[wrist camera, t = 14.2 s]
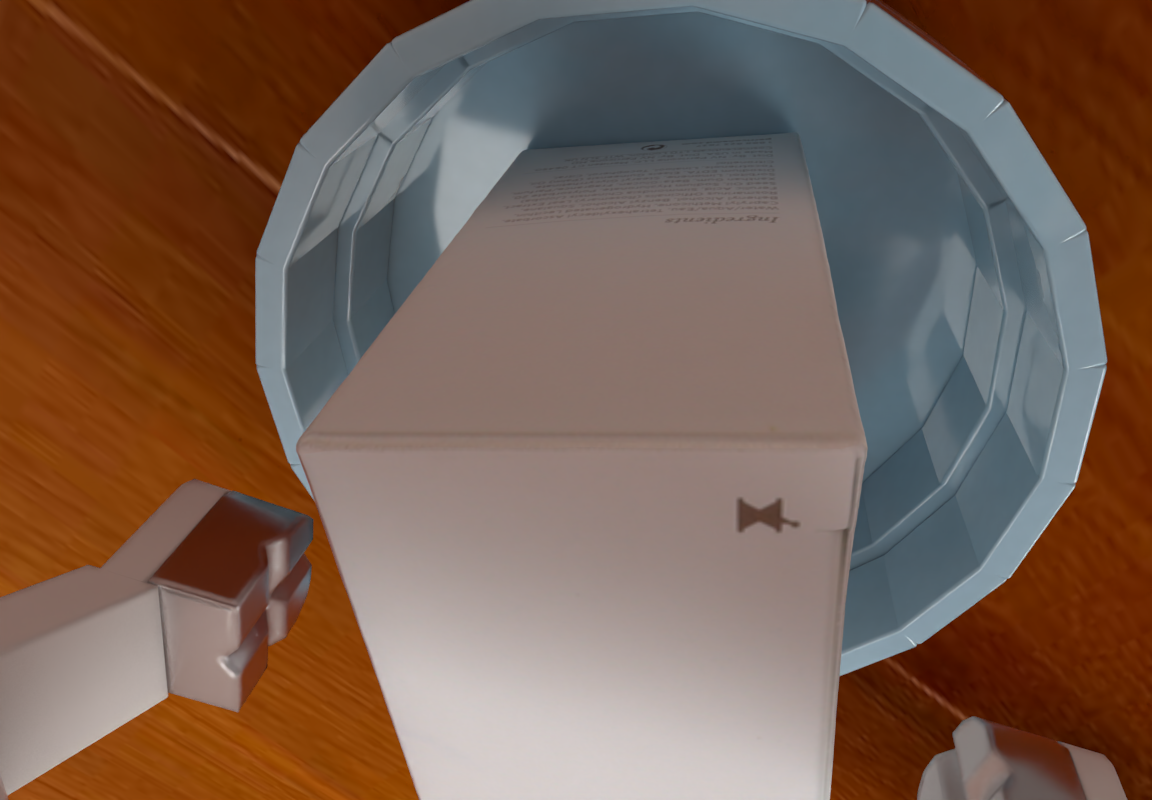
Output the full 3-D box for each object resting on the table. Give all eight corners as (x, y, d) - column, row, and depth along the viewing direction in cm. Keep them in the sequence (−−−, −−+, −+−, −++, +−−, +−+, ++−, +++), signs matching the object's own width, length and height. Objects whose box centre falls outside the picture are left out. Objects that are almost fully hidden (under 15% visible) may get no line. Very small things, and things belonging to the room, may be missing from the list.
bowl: (1170, 54, 15) (1337, 123, 10) (850, 605, 23) (873, 770, 18) (389, -150, 15) (251, -163, 11) (344, 460, 23) (254, 588, 19)
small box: (520, 142, 17) (271, 426, 8) (806, 124, 16) (877, 432, 7) (564, 464, 21) (431, 885, 12) (794, 468, 20) (829, 936, 11)
